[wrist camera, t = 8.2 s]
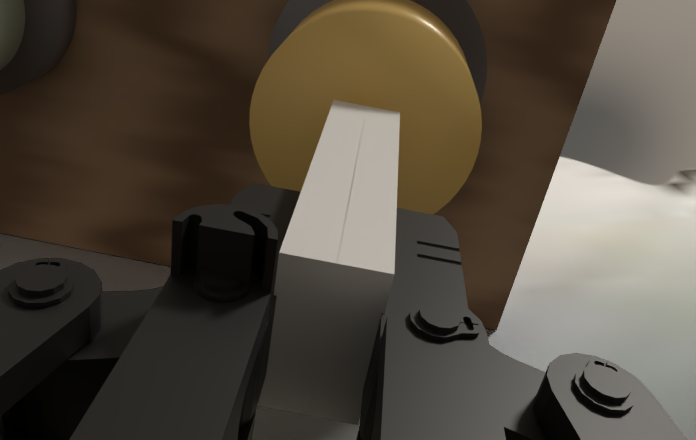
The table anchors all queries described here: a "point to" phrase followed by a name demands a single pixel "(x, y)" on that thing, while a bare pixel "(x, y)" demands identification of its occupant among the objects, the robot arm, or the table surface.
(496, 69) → the console
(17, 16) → the sage button
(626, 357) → the table surface
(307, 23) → the ochre button
